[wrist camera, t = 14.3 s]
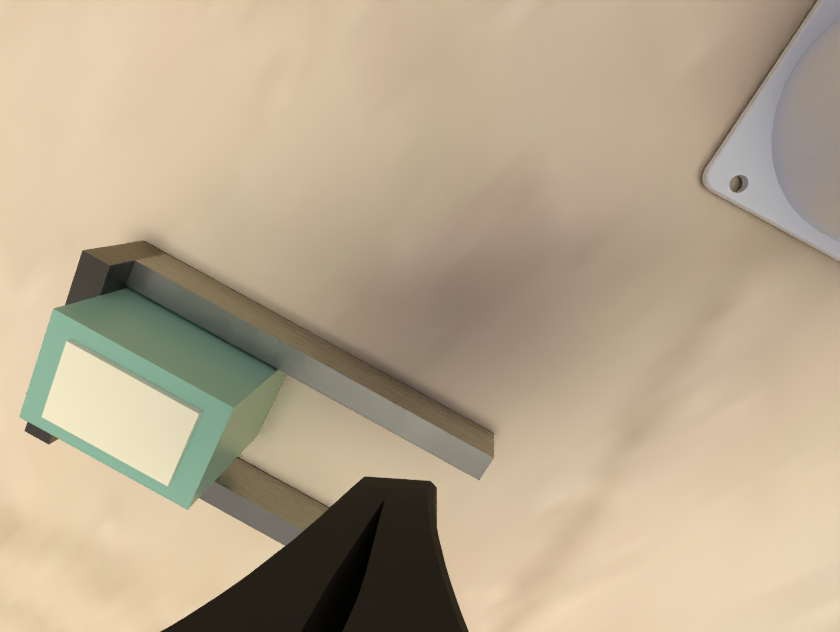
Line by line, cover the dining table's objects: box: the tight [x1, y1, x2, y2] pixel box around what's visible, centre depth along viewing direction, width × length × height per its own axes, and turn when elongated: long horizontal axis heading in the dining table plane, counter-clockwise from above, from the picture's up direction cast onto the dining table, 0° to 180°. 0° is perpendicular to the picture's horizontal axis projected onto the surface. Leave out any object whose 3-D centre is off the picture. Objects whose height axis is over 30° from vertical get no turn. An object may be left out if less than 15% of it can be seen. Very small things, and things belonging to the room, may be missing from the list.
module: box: [20, 287, 286, 510], centre depth 18 cm, size 6×4×5 cm, turn 62°
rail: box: [25, 241, 494, 546], centre depth 19 cm, size 15×7×3 cm, turn 62°
